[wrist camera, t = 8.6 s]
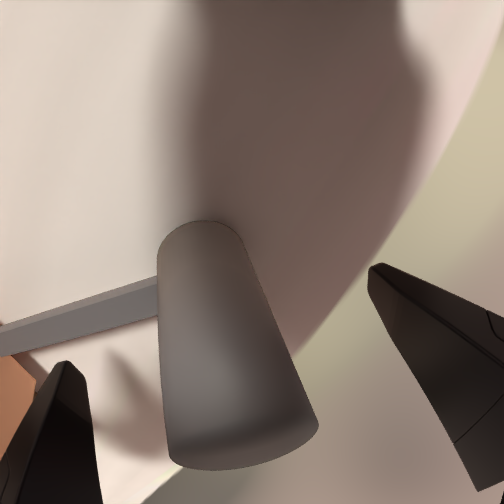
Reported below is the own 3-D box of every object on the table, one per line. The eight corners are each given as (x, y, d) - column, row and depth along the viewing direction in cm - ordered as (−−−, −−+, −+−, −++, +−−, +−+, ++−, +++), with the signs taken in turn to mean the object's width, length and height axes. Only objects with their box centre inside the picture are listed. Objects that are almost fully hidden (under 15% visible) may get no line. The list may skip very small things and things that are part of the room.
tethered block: (222, 164, 9) (313, 338, 4) (260, 307, 12) (320, 457, 7) (-91, 304, 7) (-134, 404, 2) (-25, 379, 11) (-44, 476, 6)
